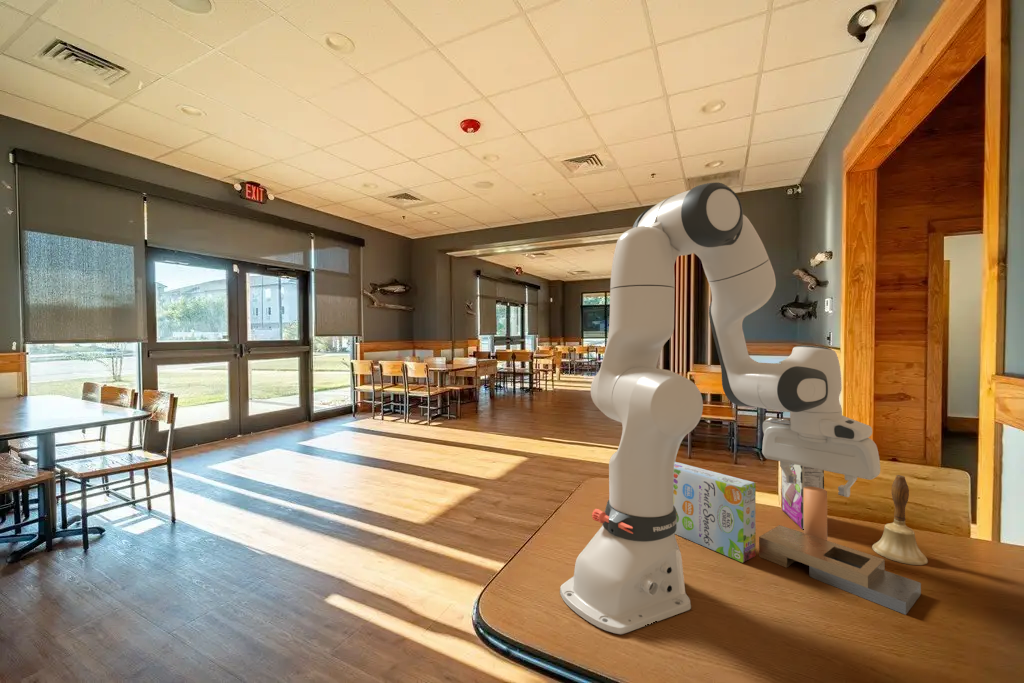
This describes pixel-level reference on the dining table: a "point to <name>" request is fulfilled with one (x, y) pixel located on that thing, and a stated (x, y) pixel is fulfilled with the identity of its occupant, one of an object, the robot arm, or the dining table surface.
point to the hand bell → (899, 531)
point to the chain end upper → (819, 555)
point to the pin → (815, 512)
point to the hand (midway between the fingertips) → (816, 489)
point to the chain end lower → (876, 588)
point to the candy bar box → (799, 491)
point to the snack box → (715, 511)
